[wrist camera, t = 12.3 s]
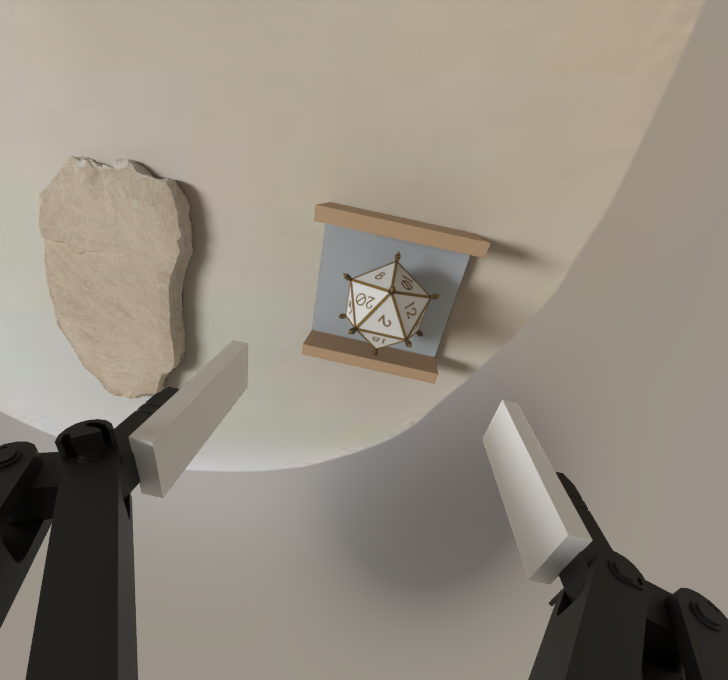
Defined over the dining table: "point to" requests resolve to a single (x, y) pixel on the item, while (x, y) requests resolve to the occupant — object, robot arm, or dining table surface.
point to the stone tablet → (118, 270)
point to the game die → (386, 305)
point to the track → (370, 251)
